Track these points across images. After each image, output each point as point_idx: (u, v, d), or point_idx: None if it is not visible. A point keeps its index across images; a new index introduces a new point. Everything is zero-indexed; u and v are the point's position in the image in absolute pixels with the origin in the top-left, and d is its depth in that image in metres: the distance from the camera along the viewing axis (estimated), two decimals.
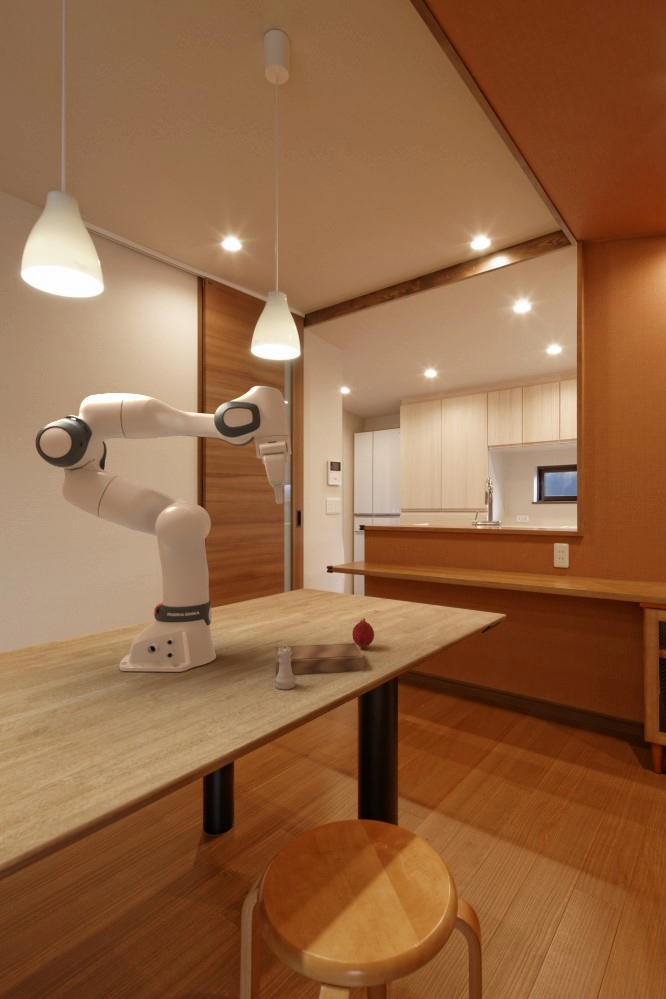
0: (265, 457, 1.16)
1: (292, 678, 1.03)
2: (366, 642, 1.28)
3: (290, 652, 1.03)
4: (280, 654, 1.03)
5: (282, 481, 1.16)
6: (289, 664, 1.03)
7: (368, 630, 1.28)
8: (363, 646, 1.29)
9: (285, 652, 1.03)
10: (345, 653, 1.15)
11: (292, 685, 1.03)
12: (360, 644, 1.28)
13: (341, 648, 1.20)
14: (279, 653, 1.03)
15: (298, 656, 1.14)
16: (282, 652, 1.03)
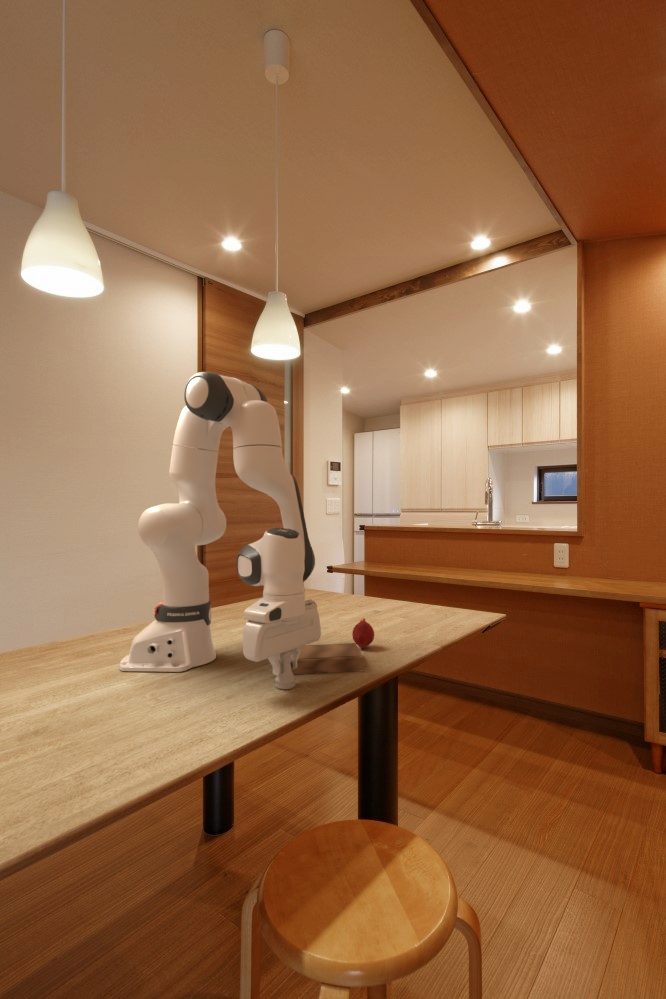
0: (245, 625, 0.98)
1: (292, 678, 1.03)
2: (366, 642, 1.28)
3: (290, 652, 1.03)
4: (280, 654, 1.03)
5: (255, 660, 0.96)
6: (289, 664, 1.03)
7: (368, 630, 1.28)
8: (363, 646, 1.29)
9: (285, 652, 1.03)
10: (345, 653, 1.15)
11: (292, 685, 1.03)
12: (360, 644, 1.28)
13: (341, 648, 1.20)
14: None
15: None
16: None
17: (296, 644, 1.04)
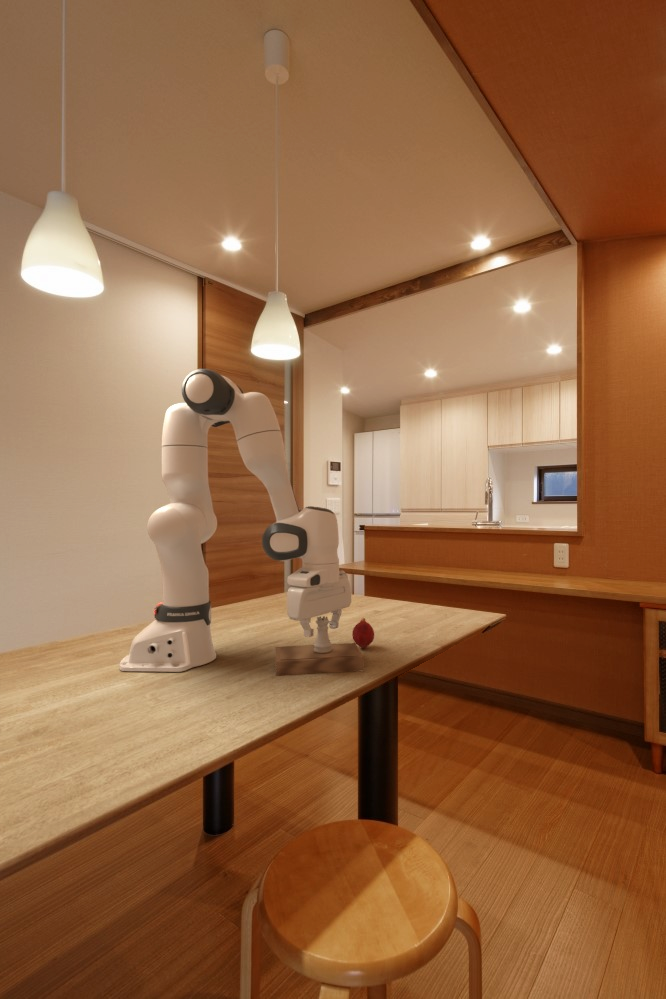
0: (288, 589, 1.12)
1: (329, 643, 1.17)
2: (366, 642, 1.28)
3: (327, 620, 1.17)
4: (319, 622, 1.16)
5: (298, 619, 1.10)
6: (326, 631, 1.17)
7: (368, 630, 1.28)
8: (363, 646, 1.29)
9: (323, 620, 1.17)
10: (345, 653, 1.15)
11: (329, 649, 1.17)
12: (360, 644, 1.28)
13: (341, 648, 1.20)
14: (318, 621, 1.17)
15: (298, 656, 1.14)
16: (321, 620, 1.17)
17: (331, 608, 1.18)
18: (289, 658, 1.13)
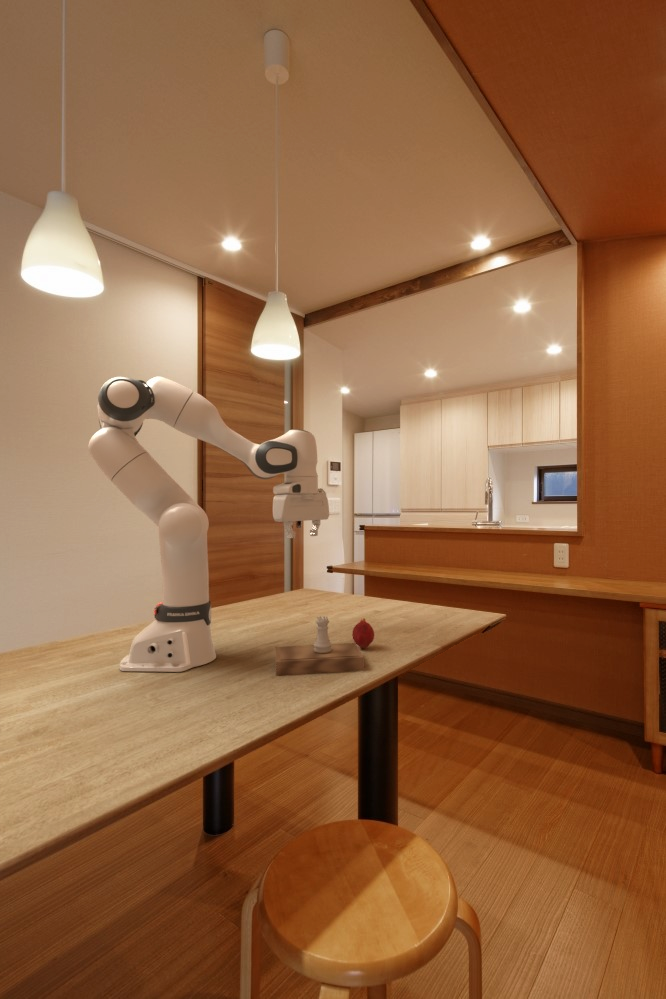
0: (274, 497, 1.33)
1: (329, 643, 1.17)
2: (366, 642, 1.28)
3: (327, 620, 1.17)
4: (319, 622, 1.16)
5: (282, 520, 1.30)
6: (326, 631, 1.17)
7: (368, 630, 1.28)
8: (363, 646, 1.29)
9: (323, 620, 1.17)
10: (345, 653, 1.15)
11: (329, 649, 1.17)
12: (360, 644, 1.28)
13: (341, 648, 1.20)
14: (318, 621, 1.17)
15: (298, 656, 1.14)
16: (321, 620, 1.17)
17: (311, 517, 1.39)
18: (289, 658, 1.13)
